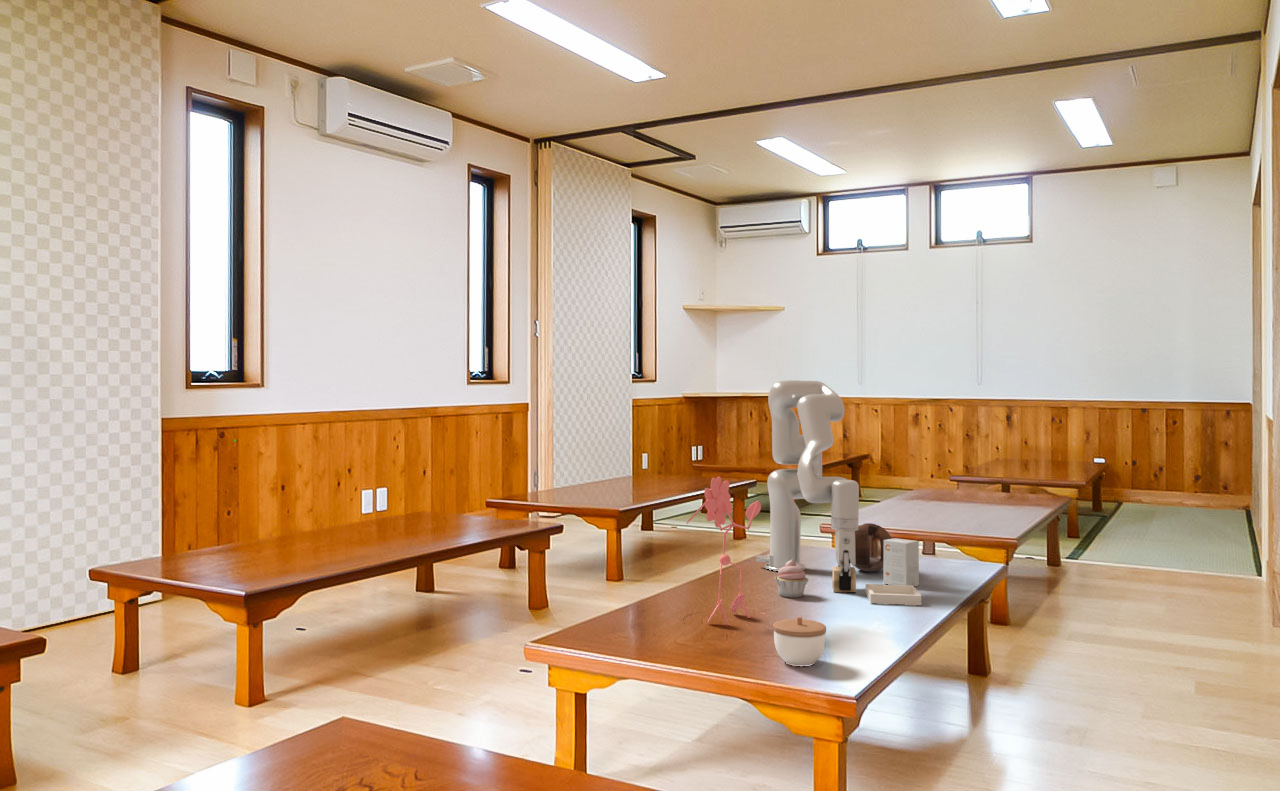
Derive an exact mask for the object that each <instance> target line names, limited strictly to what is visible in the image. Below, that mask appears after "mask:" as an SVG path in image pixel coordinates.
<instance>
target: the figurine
mask: <svg viewBox="0 0 1280 791" xmlns="http://www.w3.org/2000/svg"><path fill="white" fill-rule="evenodd" d="M729 490H730V481H728V480H724V481H722V477H721V476H716V477H712V478H711V481H710V488H709V487H705V488H704V497H705V501H704V503H702V504H701V506H699V507H698V509H697V510H696V511H695V512H694V513H693V514H692V516H691V517H690V518H689V519H688V520H687V521H686V524H689V523H690V522H691V521H692V520H693V519H694V518H695V516H696V515H697V514H698V513H699V512H700V511H701V510H702V509H703V507H704V508H705V509H706V510H707V513H706V516H705V518H706V521H707V522H712V521H714V527H715V528H716V529H718V528H719V531H721V532H722V531H724V532H723V541H722V543H723V544H722V555H720V557H719V563H720V568H719V581H718V584H719V585H718V596H717V597H718V598H717V602H716V607H715V608H714V610H713V612H712V613H711V615H710V617H709V618H708V620H707V622H706V623H707V624H709V622H710V621H711V620H712V618H713V616H714V615H715V614H716V612H717V611H718V609H720V611H721V613H722V616H723V618H724V620H725V623H726V625H727V626H728V625H730V626H731V624H730V622H729V619H728V617H727V614H726V612H725V610H724V607H723V604H722V602H723V598H721V588H722V587H721V584H722V572H723V566H725V567H726V566H728V565H730V564H731V565H732V566H736V567H737V568H739V569H740V573H739V574H740V575H739V586H738V588H739V589H738V590H739V591H738V595H737V596H736V597H735V598H734V600H733V601H732V603H731V606H730V611H731V613H732V614H735V613H736V612H737V610H738V609H739V608H740V607H741V606H742V607H743V611H744V613H745V615H746V617H747V619H748V618H750V619H751V616H750V614H749V612H748V609H747V606H746V604H745V594H744V593H743V592H742V593H741V591H742V590H741V588H742V574H743V567H742V566H740V565H737V564H735V563H734V562H732V561H731V557H730V556H729V555H728V554H726V553H725V552H726V551H725V550H726V539H727V537H726V536H727V534H728V532H730V530H732V528H735V527H738V528H741V529H745V530H750V528H751V526H752V522H753V519H754V518H756V516H757V515H758V514H759V513H760V512H761V509H762V504H761V503H760V501H759V500H756V501H755V502H753V503H751V504H749V506H748V507H747V508H746V510H745V517H746V518H747V520H748V521H749V522H748V525H747V526H745V525H741V524H738V523H735V522H734V520H733V517H732V516H731V514H732V513H733V505H732V502H731V498H732V497H731V494H730V492H729ZM727 516H728V518H729V520H730V524H728V525H726V526H724V527H722V525H725V524H726V518H727ZM720 598H721V599H720ZM759 613H760V614H763V615H766V613H765V612H762V611H761V612H759Z"/></svg>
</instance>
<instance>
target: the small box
mask: <svg viewBox="0 0 1280 791" xmlns="http://www.w3.org/2000/svg"><path fill="white" fill-rule="evenodd" d="M919 543H920V541H919V540H918V541H917V540H913V539H912V540H910V539H904V538H892V539H887V540H884V563H883V568H882V570H883V573H882V575H883V577H882V578H883V581H882V582H883V583H884V584H883V585H886V584H888V585H908V586H915V587H918V586H919V585H920V584H919V583H920V574H919V573H920V558H919V557H920V556H919V555H920V554H919V553H920V551H919V550H920V549H919V547H920V546H919V545H920V544H919Z"/></svg>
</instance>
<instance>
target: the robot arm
mask: <svg viewBox="0 0 1280 791" xmlns="http://www.w3.org/2000/svg"><path fill="white" fill-rule="evenodd" d="M767 401H768V408H769V413H770V417H771V437H772V438H771V444H772V445H771V449H772V450H771V452H772V459H773V461H774V462H775V463H776V464H779V465H787V466H788V465H792V466H793V465H795V466H796V465H797V468H781V469H776V470H774V471H772V472H770V473H769V475H768V478H767V483H766V484H767V491H768V496H769V510H770V511H769V512H770V513H769V514H770V516H769V518H770V522H769V523H770V524H769V526H770V527H769V531H770V532H769V534H770V537H769V552H768V554H765V555H761V554H760V555H757V554H756V555H755V562H758V563H765V564H764V567H765V569H766V570H767V569H769V570H768V571H771V570H773V571H772V572H776V571H779V569H780V568H782V567H784V566H785V564H786V563H787V562H788V561H791V560H793V561H794V562H796V563H797V564H799V565H800V566H801V567H802V570H804V571H805V570H806V565H805V564H802V563H801V537H802V536H801V535H802V533H801V525H802V523H801V522H802V521H801V517H802V516H801V511H800V508H799V506H798V505H797V503H796V502H795V500H800V499H801V500H802V499H803V500H805V502H808V503H810V504H827V503H828V504H831V505H830V506H831V508H830V509H831V510H830V511H831V512H830V514H831V515H830V516H831V517H830V519H831V520H830V521H831V524H830V528H831V530H833V531H834V530H835V531H834V532H835V533H834V534H835V535H834V536H835V539H834V540H835V542H834V544H835V545H834V546H835V547H834V548H835V559H836V560H835V561H836V562H837V567H840V576H839V590H847V591H850V590H851V571H850V567H851V565H852V567H855V565H856V558H855V531H856V530H858V525H859V513H860V510H859V506H860V503H859V502H860V501H859V500H860V499H859V498H860V496H859V495H860V486H859V483H858V482H857V481H856V480H852V479H847V478H845V477H842V476H823V452H824V451H826V450H829V449H830V448H831V447H833V445H834V443H835V438H834V434H833V431H832V425H831V423H838V422H840V421H841V420H843V418H844V416H845V412H846V411H845V410H846V409H845V404H844V402H843V400H842V397H840V395H839V394H838V393H837V392H836V391H835V390H833V389H832V388H831V387H829V386H828V385H827V384H826V383H825V382H824V383H823V382H822V381H819V380H799V379H798V380H793V379H791V380H781V381H777V382H775V383H774V384H772V385H771V387H770V389H769V391H768V399H767ZM793 408H796V409H797V413H798V416H797V413H796V411H794V410H793ZM800 427H801V432H802V434H800ZM850 562H851V563H850ZM842 567H844V568H843V569H842Z"/></svg>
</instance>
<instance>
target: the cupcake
mask: <svg viewBox="0 0 1280 791" xmlns="http://www.w3.org/2000/svg"><path fill="white" fill-rule="evenodd" d="M777 574H778V576H774V580H775V583H776V584H777V590H778V594H779V596H780V595H781V596H780V597H782V596H783V597H782V598H786V597H790V598H789V599H798V597H799V598H802V597H803V596H804V593H805V588H806V585H807V584H808V582H809V578H808V577H806V572H805V570H804V571H803V570H802V567H801V566H800V565H799V564H797V563H796V562H794V561H793V560H791V561H788V562H787V563H786V564H785V566H784V567H782V568H780V569H779V571H778V572H777Z"/></svg>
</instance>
